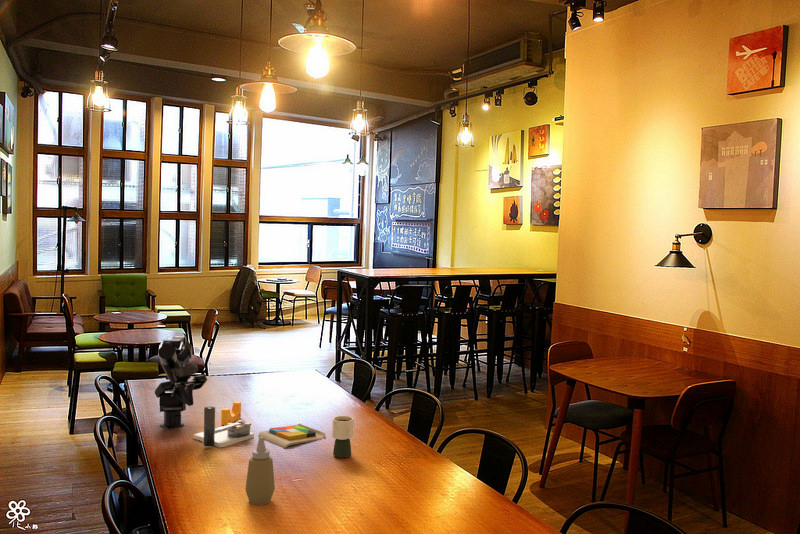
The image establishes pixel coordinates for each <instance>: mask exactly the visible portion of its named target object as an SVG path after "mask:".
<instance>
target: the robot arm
mask: <svg viewBox="0 0 800 534" xmlns="http://www.w3.org/2000/svg"><path fill="white" fill-rule="evenodd" d="M157 354H158V357H159V361H160V365H161V367H162V369H163V371H164V373H165V375H166V376H165V380H167V381H163V382H160V383H158V384H159V385H157V387H156V388H155V390H154V395H155V397H156V398H157V399H158V398H159V400H158V402H159V404H158V405H159V412H160V413H163V423H162V424H161V423H160V424H159V426H160V427H162V428H165V429H168V430H172V429H177V428H181V427H184V426H185V423H182V412H184V411H186V410H187V406H188V407H191V406H194V396H193V395H194V394H193V393H194V391H195V390H200V389H201V388H203V386H204V385H205V384H206V383H207V381H208V378H207V377H206V375H205V374H199V375H195V374H196V373H197V372H198V371H199V366H198V365H197V363H196V362H192V363H191V364H190V361H191V359H192V358H193V346H192V344H191V343H190V342H189V341H188V340H187V336H185V335H175V336H173V337H172V338H171V339H170V338H167V339H166V338H165V339H163V340H162V342H160V344H159V348H158V351H157ZM193 375H195V376H194V377H193V378H192V377H191V376H193ZM191 378H192V379H191Z"/></svg>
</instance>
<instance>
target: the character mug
mask: <svg viewBox="0 0 800 534" xmlns="http://www.w3.org/2000/svg"><path fill="white" fill-rule="evenodd" d="M354 420H355V419H354V417H352V416H349V415H337V416H334V417H333V418H332V431H331V432H332V433H331V434H332V438H333V439H334V446H333V451H332V455H333V456H334V457H336V458H343V459H344V458H347V457H351V456H352V446H351V445H352V444H351V440H350V439H351V438H353V436H354V425H355V422H354Z"/></svg>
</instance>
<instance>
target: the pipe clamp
mask: <svg viewBox="0 0 800 534" xmlns="http://www.w3.org/2000/svg"><path fill="white" fill-rule="evenodd" d="M241 415H242V401H234V402H232V407H231V408H226V407H224V408H222V409H221V422H220V426H221V425H224V426H226V425H227V423H232V422H233V423H235V422H237V421H238V420H240V417H241ZM241 418H242V417H241ZM237 419H238V420H237ZM234 421H235V422H234Z"/></svg>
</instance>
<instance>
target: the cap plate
mask: <svg viewBox="0 0 800 534" xmlns="http://www.w3.org/2000/svg"><path fill="white" fill-rule="evenodd" d="M219 427H220V426H219ZM219 427H217V428H219ZM253 437H255V433H254V432H251V431H250V434H249V435H248V436H245V437H230V436H228V435H227V430H226V431H222V432H219V433H215V442H214V445H215V446H214V447H216V446H217V448H219V447H220V449H221V447H222V448H224V447H228V446H231V445H233V444H237V443H240V442H243V441H246V440H250V439H252V438H253ZM193 439H194V440H196V439H197V441H199V440H200V442H202V441H203V442H202V443H204V431H200V432H197V433H194V434H193Z"/></svg>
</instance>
